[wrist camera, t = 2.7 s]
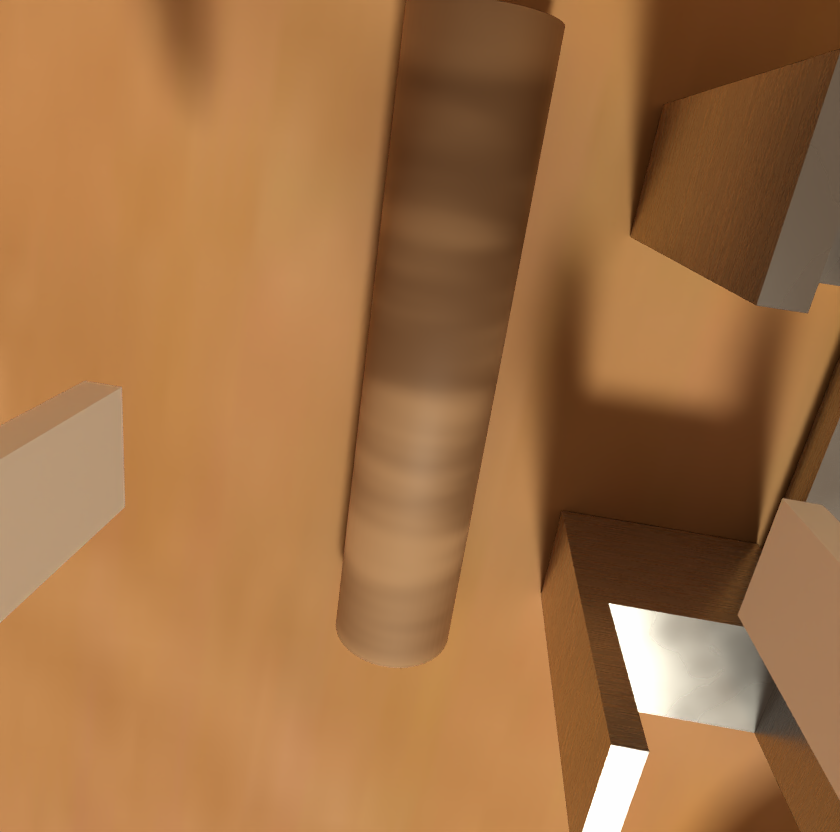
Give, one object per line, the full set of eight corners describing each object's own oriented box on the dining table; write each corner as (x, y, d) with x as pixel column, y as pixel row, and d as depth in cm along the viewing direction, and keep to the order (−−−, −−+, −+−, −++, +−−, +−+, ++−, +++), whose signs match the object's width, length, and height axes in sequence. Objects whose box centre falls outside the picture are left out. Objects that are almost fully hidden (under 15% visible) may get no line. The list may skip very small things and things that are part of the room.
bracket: (675, 56, 18) (876, -55, 9) (1003, 102, 18) (1578, 38, 8) (534, 620, 25) (561, 894, 16) (766, 661, 25) (935, 966, 15)
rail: (441, 28, 19) (377, -10, 15) (579, 39, 18) (542, 0, 14) (369, 578, 26) (313, 637, 22) (464, 616, 25) (420, 685, 21)
